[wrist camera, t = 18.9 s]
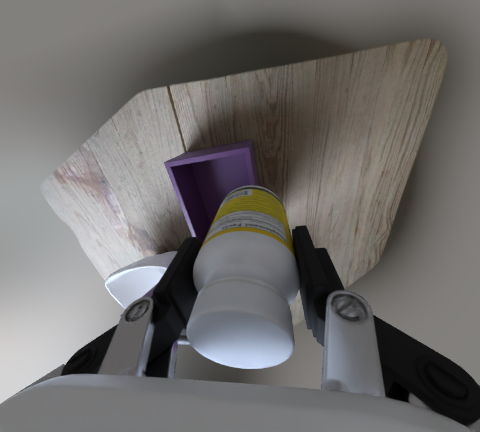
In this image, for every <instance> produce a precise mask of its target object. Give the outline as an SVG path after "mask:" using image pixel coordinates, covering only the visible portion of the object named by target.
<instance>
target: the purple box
mask: <svg viewBox="0 0 480 432" xmlns="http://www.w3.org/2000/svg"><path fill="white" fill-rule="evenodd" d="M164 164H165V166H166V169H167V172H168V174H169V177H170V179H171V182H172V185H173V187H174V190H175V192H176V195H177V198H178V200H179V203H180V206H181V208H182V211H183V213H184V216H185V219H186V221H187V224H188V226H189V229H190V232H191V234H192V237H197V239H200V241H201V244H203V242H204V240H205V238H206V236H207V234H208V232H209V230H210V227H211V225H212V223H213V221H214V219H215V216H216V214H217V212H218V210H219V208H220V206H221V204H222V202H223V200H224V199H225V197H226V196H227V195H228V194H229V193H230V192H232V191H233V190H235V189H237V188H240V187H243V186H249V185H254V186H259V180H258V173H257V166H256V159H255V152H254V146H253V140H248V141H243V142H237V143H232V144H227V145H222V146H217V147H211V148H206V149H201V150H196V151H190V152H185V153H183V154H181V155H179V156H177V157H175V158H173V159H171V160H168V161H166V162H164Z"/></svg>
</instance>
